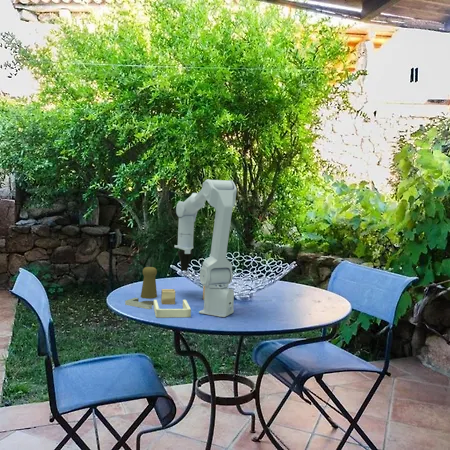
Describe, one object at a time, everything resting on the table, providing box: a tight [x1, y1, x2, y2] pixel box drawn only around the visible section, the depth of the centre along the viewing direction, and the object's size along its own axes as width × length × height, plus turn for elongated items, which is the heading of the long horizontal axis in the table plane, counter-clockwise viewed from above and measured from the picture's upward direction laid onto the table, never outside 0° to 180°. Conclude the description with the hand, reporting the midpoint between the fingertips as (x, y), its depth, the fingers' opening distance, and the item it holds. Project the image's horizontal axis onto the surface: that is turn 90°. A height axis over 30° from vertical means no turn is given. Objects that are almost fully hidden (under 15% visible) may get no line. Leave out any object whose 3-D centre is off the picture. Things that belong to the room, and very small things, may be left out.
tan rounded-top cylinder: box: [202, 285, 205, 301], centre depth 185 cm, size 5×5×5 cm
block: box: [160, 288, 176, 305], centre depth 176 cm, size 4×4×4 cm
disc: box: [141, 300, 154, 306], centre depth 174 cm, size 6×6×1 cm
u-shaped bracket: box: [152, 299, 192, 319], centre depth 165 cm, size 13×11×2 cm
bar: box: [124, 297, 153, 310], centre depth 171 cm, size 10×6×2 cm, turn 63°
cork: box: [140, 266, 158, 300], centre depth 184 cm, size 6×6×11 cm
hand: (184, 270), depth 186 cm, fingers closed
